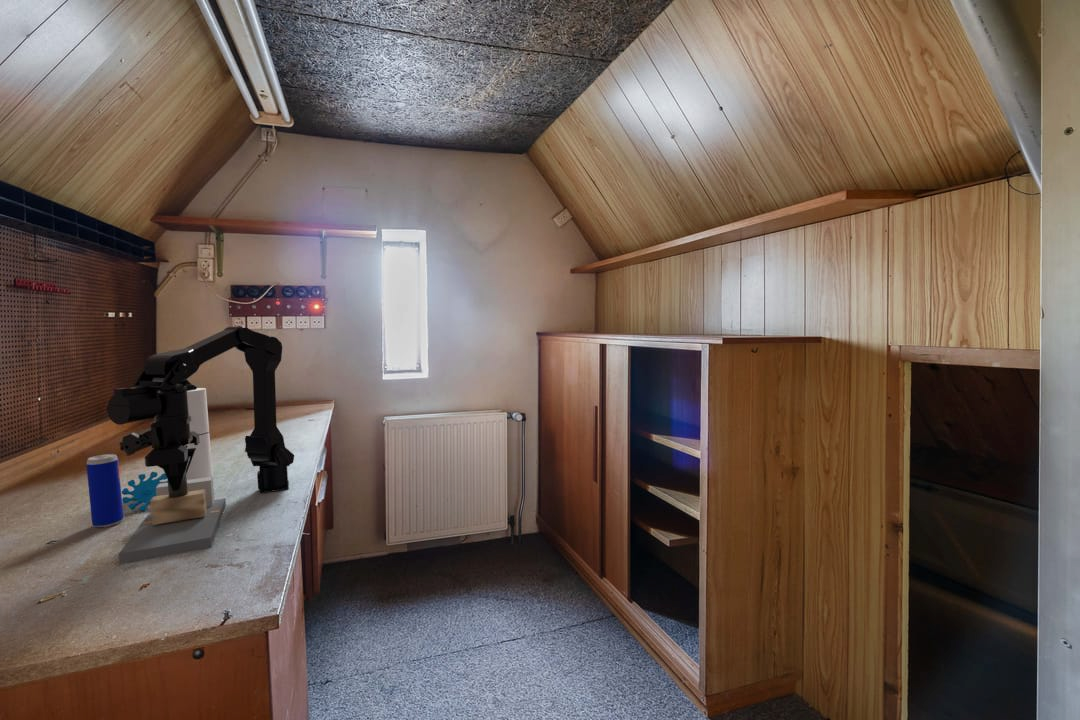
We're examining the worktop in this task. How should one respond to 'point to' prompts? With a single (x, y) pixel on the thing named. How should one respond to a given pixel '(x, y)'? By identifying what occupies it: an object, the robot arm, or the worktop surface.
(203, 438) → the tall white block
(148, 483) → the blue virus model
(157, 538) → the cracker base
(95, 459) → the beverage can
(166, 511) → the lever handle
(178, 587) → the worktop surface
